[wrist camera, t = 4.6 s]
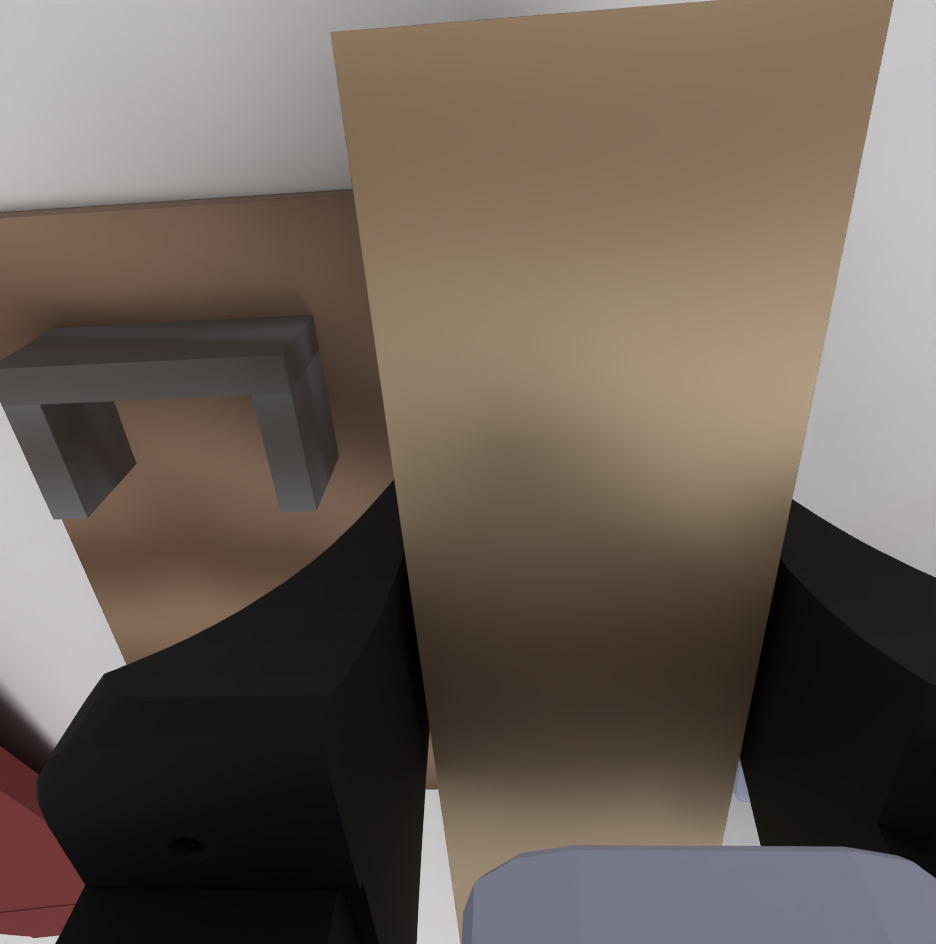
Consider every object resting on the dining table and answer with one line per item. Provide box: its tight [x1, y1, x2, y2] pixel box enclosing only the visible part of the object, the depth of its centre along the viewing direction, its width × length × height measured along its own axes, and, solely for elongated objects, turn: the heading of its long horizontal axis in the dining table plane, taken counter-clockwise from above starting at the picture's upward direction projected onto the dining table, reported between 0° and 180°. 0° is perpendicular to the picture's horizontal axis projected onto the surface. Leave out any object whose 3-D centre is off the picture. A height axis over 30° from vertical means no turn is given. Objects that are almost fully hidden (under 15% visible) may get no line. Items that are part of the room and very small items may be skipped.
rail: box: [331, 0, 894, 943], centre depth 11 cm, size 14×4×6 cm, turn 4°
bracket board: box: [0, 189, 438, 789], centre depth 23 cm, size 24×12×4 cm, turn 4°
